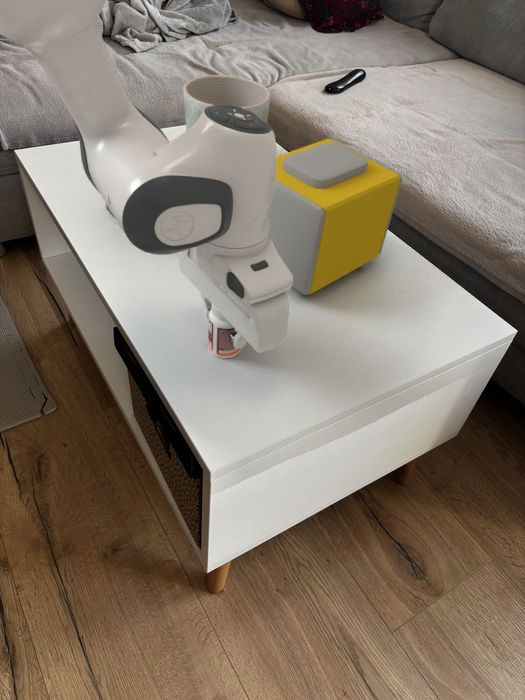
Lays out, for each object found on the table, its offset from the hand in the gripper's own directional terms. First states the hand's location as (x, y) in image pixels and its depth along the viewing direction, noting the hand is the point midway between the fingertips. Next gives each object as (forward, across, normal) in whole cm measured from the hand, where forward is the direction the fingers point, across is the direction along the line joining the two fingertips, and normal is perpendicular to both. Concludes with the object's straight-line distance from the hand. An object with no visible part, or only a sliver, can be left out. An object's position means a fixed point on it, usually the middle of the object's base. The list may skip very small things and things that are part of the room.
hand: (225, 331), depth 75 cm
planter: (+3, -46, +30) cm, 55 cm away
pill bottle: (+3, 0, 0) cm, 3 cm away
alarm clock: (+3, -10, +24) cm, 26 cm away
